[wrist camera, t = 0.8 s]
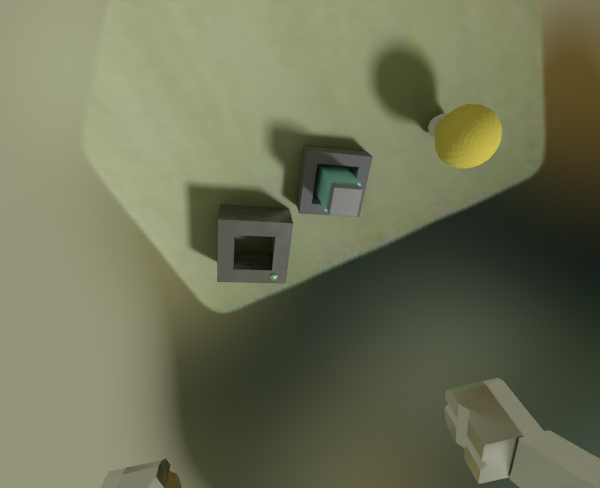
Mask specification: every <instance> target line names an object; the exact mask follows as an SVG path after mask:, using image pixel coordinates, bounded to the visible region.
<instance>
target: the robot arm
mask: <svg viewBox="0 0 600 488" xmlns="http://www.w3.org/2000/svg"><path fill="white" fill-rule="evenodd" d="M445 398H446V400H447V402H448V403H449V404H448V405H447V406H446V407H445V417H446V421H447V425H448V427H449V430H450V432H451V434H452V436H453V438H454V440H455V442H456V443H458V444H459V445H461V446H462V447H464V448H465V460H466V462H467V464H468V465H469V467H470V469H471V471H472V472H473V474H474V476H475V478H476V480H477V482H478V483H479V484H480V483H484V482H489V481H494V480H499V479H503V478H508V477H510V480H511V481H513V482H514V483H515V484H516V485H518V486H519V487H520V488H600V459H599V458H597V457H595V456H593V455H591V454H590V453H588V452H586V451H585V450H583V449H581V448H579V447H577V446H576V445H574V444H572V443H571V442H569V441H567V440H565V439H563V438H562V437H560V436H558V435H556V434H555V433H553V432H551V431H545V432H544V431H543V430H542V428H541V427H540V426H539V425H538V423H537V422H536V421H535V420H534V419H533V417H532V416H531V415H530V414H529V412H528V411H527V410H526V409H525V408H524V406H523V405H522V404H521V402H520V401H519V400H518V399H517V398H516V397H515V395H514V394H513V393H512V391H511V390H510V389H509V388H508V386H507V385H506V384H505V383H504V381H502V380H501V379H499V378H494V379H491V380H487V381H483V382H477V383H473V384H469V385H466V386H462V387H458V388H454V389H450V390H448V391H447V392H446V397H445ZM169 470H170V463H169V462H168V461H167V459H161V460H157V461H153V462H149V463H145V464H140V465H136V466H132V467H126V468H122V469H118V470H114V471H110V472H109V473H108V474H107V476H106V477H105V479H104V481H103V484H102V486H101V488H181V482H180V479H179V477H178V475H177V474H176V473H174V472H171V471H169Z"/></svg>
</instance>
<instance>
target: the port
mask: <svg viewBox="0 0 600 488" xmlns="http://www.w3.org/2000/svg"><path fill="white" fill-rule="evenodd" d="M292 227H293V222H292V218H291V214H290V210H289V209H284V208H267V207H251V206H234V205H220V210H219V216H218V262H217V282H248V283H286V276H287V268H288V260H289V252H290V243H291V235H292ZM235 235H243V236H265V237H272V238H271V249H270V253H253V252H235Z"/></svg>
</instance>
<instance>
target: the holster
mask: <svg viewBox="0 0 600 488" xmlns="http://www.w3.org/2000/svg"><path fill="white" fill-rule="evenodd" d="M371 161H372V156H371V155H370V154H369V153H368V152H366V151H356V150H346V149H335V148H324V147H314V146H304V154H303V161H302V169H301V177H300V185H299V193H298V201H297V208H298V211H299V213H300V214H317V215H329V213H328V211H325V210H324V208H323V206H322V204H321V202H320V200H319V198H318V197H313V191H314V184H315V177H316V171H317V164H329V165H341V166H353V167H352V172H351V173H352V174H353V175H354V176H355V177H356V179H357V180H358V181H359V182H360V183H361V185H360V187H361V188H362V190H363V191H362V195H361V200H360V204H359V209H358V213H357V217H359V215H360V210H361V206H362V201H363V197H364V192H365V188H366V183H367V179H368V175H369V170H370V166H371ZM334 216H339V215H334ZM351 217H356V216H351Z"/></svg>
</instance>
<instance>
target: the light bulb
mask: <svg viewBox="0 0 600 488" xmlns="http://www.w3.org/2000/svg"><path fill="white" fill-rule="evenodd" d="M428 130H429V134H430V136H431V137H432V138H433V139H434V140H435V149H436V152H437V154H438V156H439V157H440V158H441V160H442V161H443V162H445V163H446V164H448V165H451V166H453V167H456V168H471V167H474V166H477V165H480V164H481V163H483V162H485V161H486V160H488V159H489V158H490V157H491V156H492V155H493V154H494V153H495V151H496V149H497V148H498V146H499V144H500V141H501V138H502V127H501V124H500V120H499V118H498V117H497V116H496V114H495V113H494V112H493V111H492V110H491V109H489V108H487V107H485V106H482V105H477V104H467V105H463V106H460V107H458V108H456V109H455V110H453V111H452V112H450V113H449V114H440V115H438V116H436V117H434V118H432V120H431V121H430V122H429V125H428Z"/></svg>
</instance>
